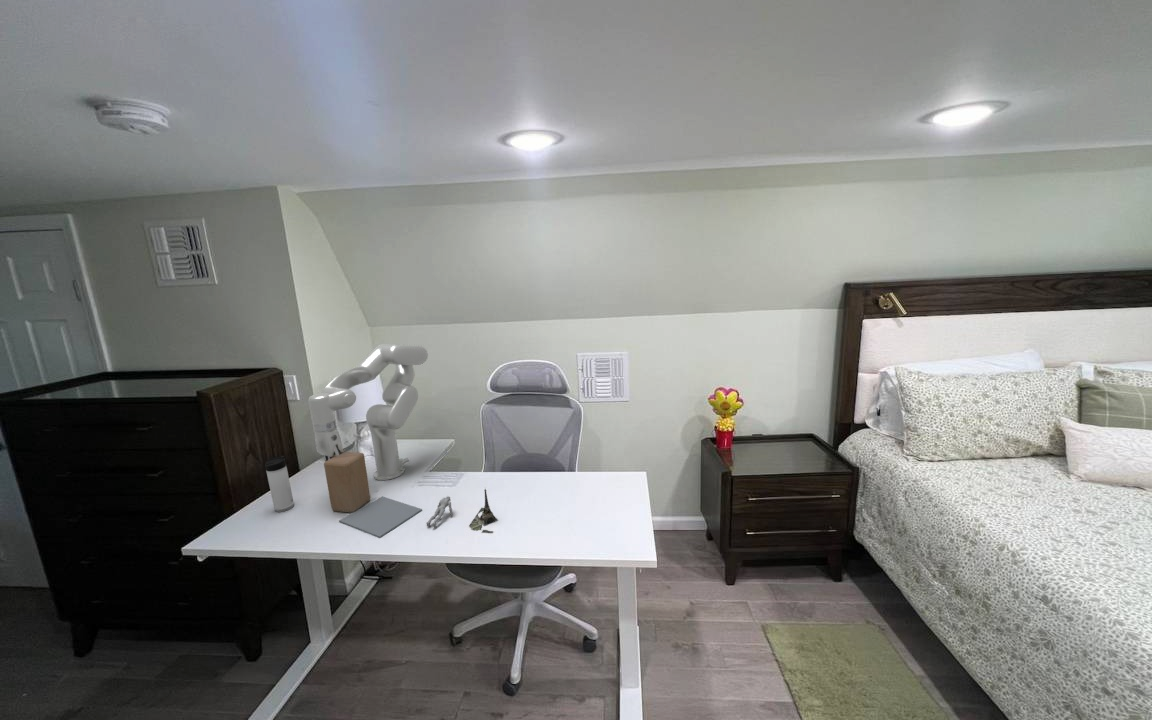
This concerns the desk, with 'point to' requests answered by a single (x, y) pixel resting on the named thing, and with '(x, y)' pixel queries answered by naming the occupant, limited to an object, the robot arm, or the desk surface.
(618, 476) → the desk surface
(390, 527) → the mat
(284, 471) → the travel mug
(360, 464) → the block
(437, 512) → the grey humanoid figure
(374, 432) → the robot arm
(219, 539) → the desk surface
